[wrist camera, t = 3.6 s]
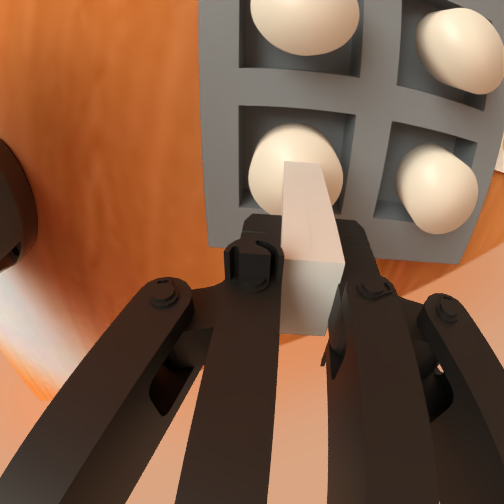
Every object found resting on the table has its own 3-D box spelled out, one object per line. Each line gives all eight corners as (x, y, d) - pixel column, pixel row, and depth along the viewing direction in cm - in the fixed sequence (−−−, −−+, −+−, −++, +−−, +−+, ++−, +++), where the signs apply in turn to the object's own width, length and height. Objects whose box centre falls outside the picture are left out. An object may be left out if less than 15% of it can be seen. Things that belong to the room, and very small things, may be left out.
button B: (255, 53, 12) (249, 52, 10) (256, -24, 10) (251, -38, 8) (345, 60, 12) (357, 61, 10) (348, -16, 9) (359, -28, 7)
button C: (387, 207, 17) (400, 230, 15) (402, 137, 14) (420, 151, 12) (446, 215, 16) (463, 237, 14) (465, 152, 14) (487, 168, 12)
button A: (252, 196, 17) (247, 218, 15) (253, 120, 14) (248, 132, 12) (329, 201, 17) (335, 224, 15) (339, 127, 14) (349, 140, 12)
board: (217, 222, 22) (208, 247, 20) (213, -58, 10) (201, -75, 8) (515, 249, 20) (530, 269, 18) (564, 50, 8) (588, 57, 6)
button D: (411, 74, 12) (432, 79, 10) (415, 0, 9) (437, -6, 7) (476, 95, 11) (501, 105, 9) (482, 27, 9) (507, 29, 7)
